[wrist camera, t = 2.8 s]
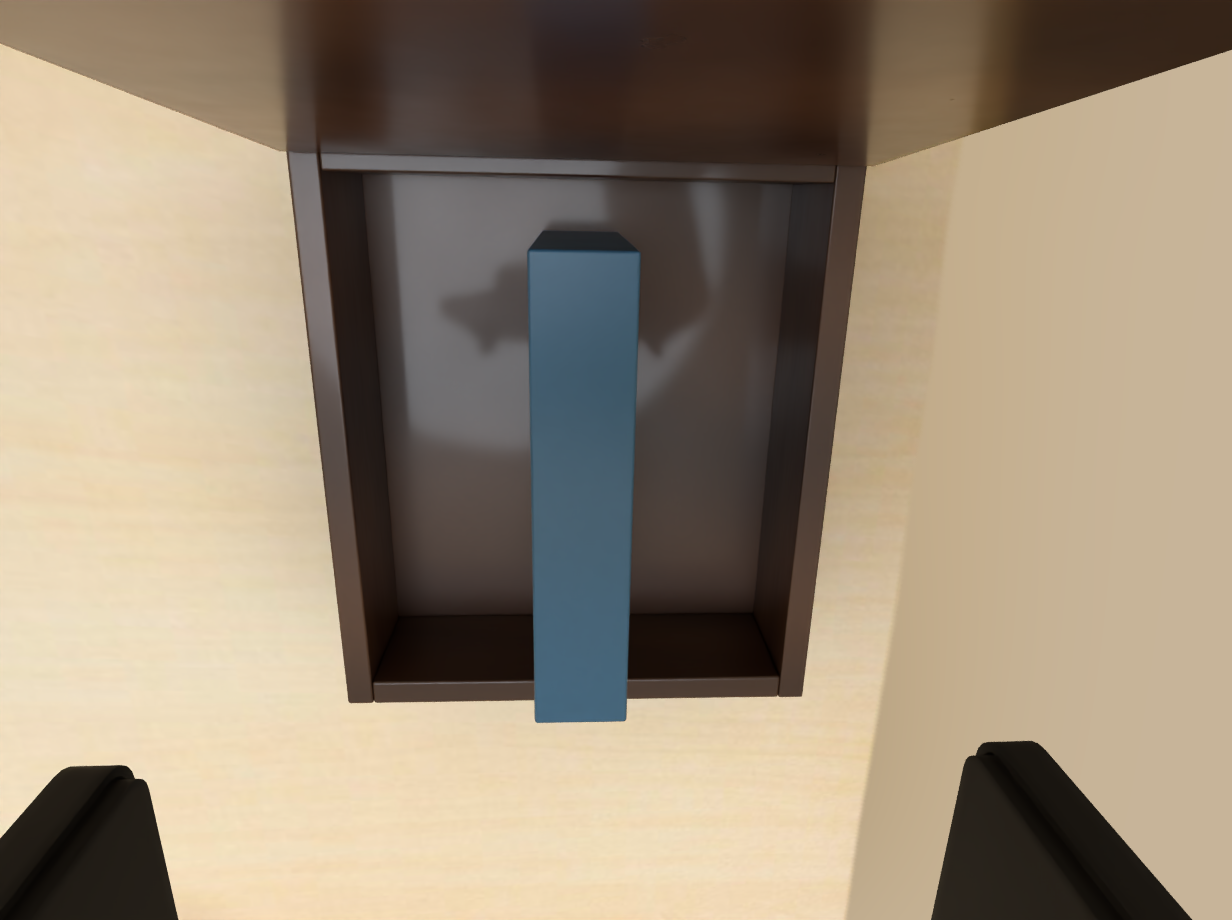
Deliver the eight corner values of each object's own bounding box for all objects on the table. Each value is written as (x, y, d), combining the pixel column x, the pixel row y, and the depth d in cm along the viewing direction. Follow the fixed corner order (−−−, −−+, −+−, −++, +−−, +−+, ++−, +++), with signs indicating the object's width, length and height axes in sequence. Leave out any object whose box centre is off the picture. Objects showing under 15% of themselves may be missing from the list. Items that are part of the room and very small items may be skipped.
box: (767, 619, 29) (802, 697, 25) (383, 623, 29) (348, 704, 24) (813, 158, 24) (869, 150, 19) (339, 145, 23) (283, 134, 19)
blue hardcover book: (611, 577, 28) (626, 722, 20) (545, 577, 27) (534, 724, 20) (619, 232, 24) (641, 250, 16) (541, 230, 23) (527, 248, 16)
